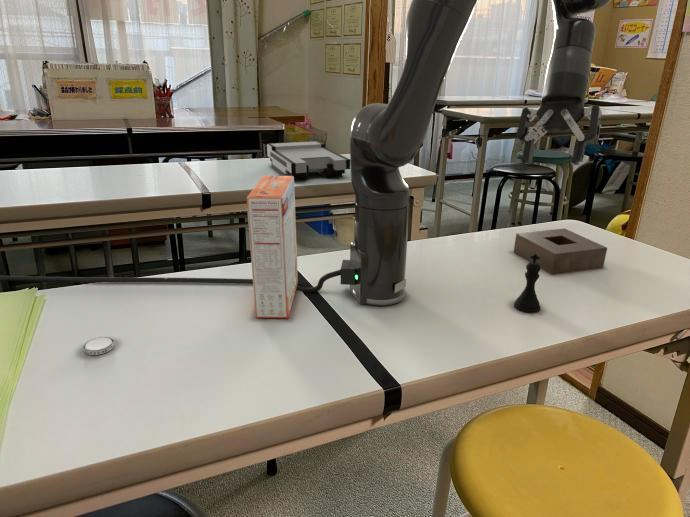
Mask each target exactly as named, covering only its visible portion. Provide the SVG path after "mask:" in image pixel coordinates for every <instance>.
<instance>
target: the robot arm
mask: <svg viewBox="0 0 690 517" xmlns="http://www.w3.org/2000/svg"><path fill="white" fill-rule="evenodd" d="M611 1H612V0H551V2H552V3H551V4H552V10H553V20H554V22H553V23H554V38H553V42H552V48H551V54H550V56H549V61H548V63H547V66H546V67H547V68H546V73H545V78H544V84H543V89H542V95H541V98H540V99H541V100H540V105H539V107H538V108H537V109H530V108H528V107H523V108H522V110H521V114H520V118H519V122H518V127H517V130H516V134H515V136H516V138H517V139H518V140H519V141H520V142H522V143H524V146H523V151H522V159H523V160H524V162H525V163H526V164H532V163H533V159H534V153H535V148H536V145H535V143H536V142H538V141H539V139H540V138H542V137H544V136H545V135H546V134H547V133H549V134H556V133H562V134H567V133H568V132H570V131H571V133H573V135H574V136H575V138H576V139H577V140H576V141H575V142H574V147H573V154H572V158H571V163H572V164H573V165H574V166H579V164H580V163H582V162H583V160H584V157H585V152H586V147H587V145H588V144H589V143H592V142H593V143H597V142H598V141H599V138H600V132H601V123H602V122H601V121H602V114H603V113H602V109H601V108H600V106H599V105H598V104H593V106H591V107H585V102H586V96H587V92H588V85H589V80H590V78H591V69H592V54H593V51H594V50H593V49H594V45H595V38H596V33H597V32H596V31H597V28H596V24H595V23H594V22H593V21H592V20H590V19H586V18H583V17H582V18H581V17H576V16H577V15H581V14H586V13H589V12H593V11H597V10H600V9H602V8H603V9H604V7H607V5H609V4H610V2H611ZM477 3H478V0H411V2H410V5H409V8H408V11H407V15H406V21H405V33H404V34H405V38H404V40H405V43H404V45H405V46H404V63H403V67H402V71H401V74H400V77H399V80H398V81H397V82H398V83H397V85H396V87H395V90H394V92H393V94H392V96H391V98H390V100H389V102H388V103H382V102H373V103H368V104H366V105H364V106H363V107H362V108H360V109H359V111H358V112H357V113H356V114H355V117H354V118H353V120H352V124H351V127H350V128H351V129H350V134H349V135H350V136H349V159H350V182H351V186H352V189H353V191H354V238H353V241H352V242H350V244H349V245H350V247H349V251H350V252H349V259H342V261H341V266H340V269H338V270H334V271H331V272H328V273H325V274H324V275H322V276H321V277H320V278H319V280H318V282H317V285H315V286H312V287H304V286H299V285H297V288H296V291H299V292H304V293H316V292H319V291H320V290H321V289H322V288H323V285H324V284H325V282H326V281H327V280H330V279H332V278H335V277H338V276H339V277H340V285H345V286H349V292H350V293H351V294H352V296H353V297H354V299H355V300H356V301H357V302H358V304H359V305H371V306H381V307H382V306H390V305H395V304H397V303H400V302H402V301H403V300H404V298H405V296H406V295H405V294H406V293H405V292H406V289H405V288H406V287H407V278H406V270H407V268H406V267H407V266H406V265H407V255H408V254H407V252H408V237H409V236H408V235H409V221H410V220H409V219H410V205H411V204H410V203H411V189H410V187H409V185H408V184H407V182H406V181H405V180H404V178H403V176H402V175H401V172H400V168H401V167H404V166H406V165H408V164H409V163H410V162H412V161H413V160H414V159H415V157H416V156H417V155H418V153H419V152H420V150H421V148H422V146H423V144H424V142H425V139H426V136H427V134H428V129H429V127H430V123H431V119H432V117H433V114H434V110H435V107H436V104H437V101H438V97H439V95H440V91H441V89H442V86H443V84H444V81H445V79H446V76H447V74H448V71H449V70H450V66H451V64H452V61H453V59H454V56H455V54H456V51H457V48H458V46H459V45H460V41H461V40H462V37H463V35H464V33H465V32H466V29H467V27H468V24H469V23H470V20H471V18H472V15H473V13H474V11H475V8H476V6H477ZM585 116H586V118H587V119H588V121H589V127H588V133H585V134H584V132H583V131H582V130H581V128H580V126H579V125H578V123H579V122H581V120H582V119H584V117H585ZM536 117H537V118H538V120H537V122H536V123H535V124H534V125H533V127H532V129H531V130H530V126H531V122H533V121H535V118H536ZM529 130H530V131H529ZM0 281H6V282H7V281H8V282H36V283H37V282H38V283H39V282H41V283H45V282H46V283H49V282H50V283H164V284H165V283H167V284H168V283H169V284H171V283H177V284H178V283H179V284H180V283H182V284H183V283H184V284H185V283H187V284H191V283H192V284H235V285H236V284H237V285H253V278H228V277H227V278H226V277H225V278H223V277H222V278H221V277H121V276H120V277H111V276H107V277H106V276H105V277H102V276H101V277H99V276H98V277H95V276H94V277H93V276H92V277H91V276H90V277H89V276H88V277H87V276H86V277H85V276H84V277H83V276H82V277H81V276H76V277H75V276H29V275H28V276H27V275H26V276H25V275H23V276H22V275H0Z"/></svg>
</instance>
